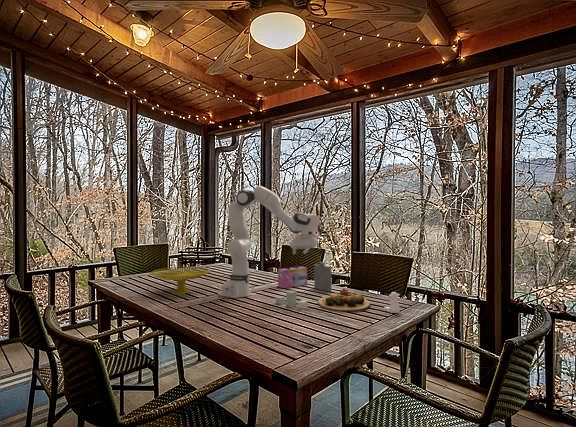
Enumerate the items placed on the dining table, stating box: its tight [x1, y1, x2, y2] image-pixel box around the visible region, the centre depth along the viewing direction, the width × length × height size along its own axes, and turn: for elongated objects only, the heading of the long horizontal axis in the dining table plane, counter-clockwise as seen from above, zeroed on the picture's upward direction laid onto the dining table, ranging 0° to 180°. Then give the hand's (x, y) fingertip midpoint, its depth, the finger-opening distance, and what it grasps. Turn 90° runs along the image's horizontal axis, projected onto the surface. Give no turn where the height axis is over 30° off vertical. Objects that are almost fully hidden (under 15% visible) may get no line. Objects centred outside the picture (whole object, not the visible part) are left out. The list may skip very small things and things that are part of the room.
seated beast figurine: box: [382, 291, 401, 314], centre depth 203 cm, size 10×9×12 cm
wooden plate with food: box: [317, 288, 371, 313], centre depth 219 cm, size 32×32×8 cm
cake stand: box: [150, 265, 211, 295], centre depth 247 cm, size 40×40×15 cm
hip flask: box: [313, 261, 332, 293], centre depth 259 cm, size 16×4×20 cm, turn 41°
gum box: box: [277, 265, 308, 289], centre depth 272 cm, size 24×8×14 cm, turn 124°
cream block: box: [297, 299, 309, 310], centre depth 211 cm, size 4×4×4 cm
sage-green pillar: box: [285, 290, 298, 308], centre depth 216 cm, size 4×4×8 cm
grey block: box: [275, 295, 286, 305], centre depth 221 cm, size 4×4×4 cm
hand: (298, 253), depth 225 cm, fingers open, 8 cm apart
